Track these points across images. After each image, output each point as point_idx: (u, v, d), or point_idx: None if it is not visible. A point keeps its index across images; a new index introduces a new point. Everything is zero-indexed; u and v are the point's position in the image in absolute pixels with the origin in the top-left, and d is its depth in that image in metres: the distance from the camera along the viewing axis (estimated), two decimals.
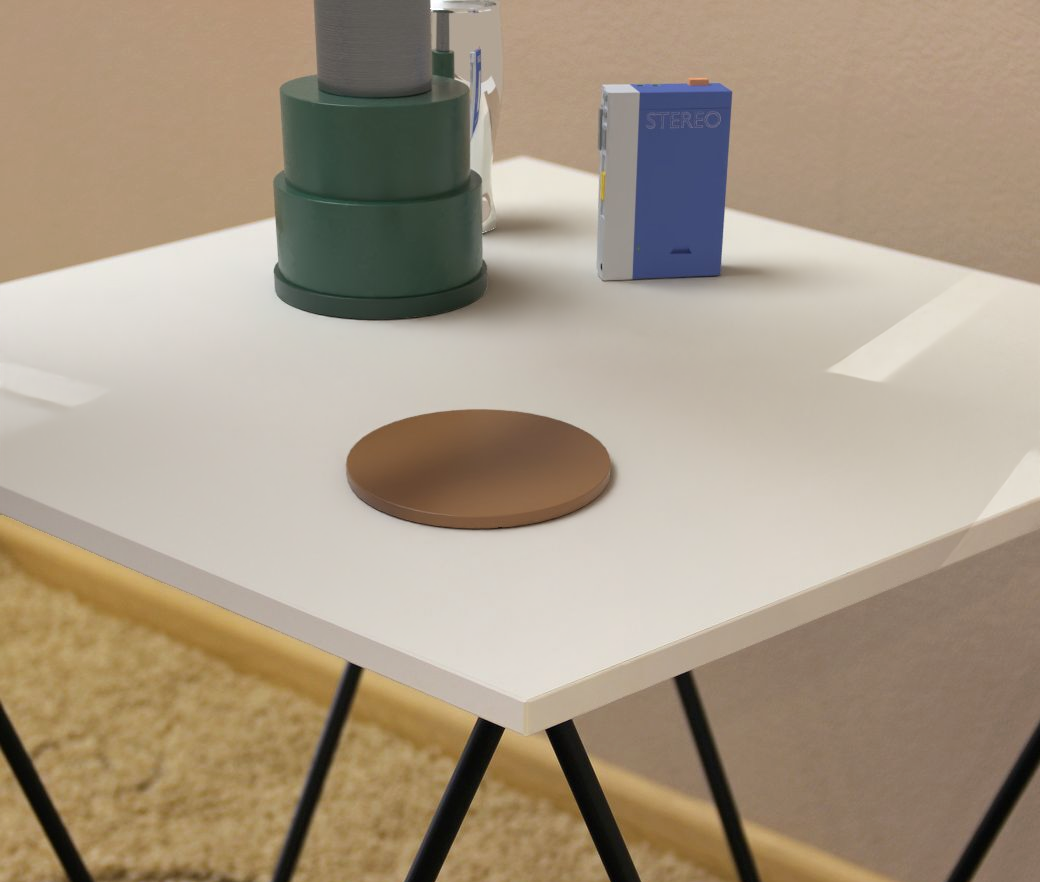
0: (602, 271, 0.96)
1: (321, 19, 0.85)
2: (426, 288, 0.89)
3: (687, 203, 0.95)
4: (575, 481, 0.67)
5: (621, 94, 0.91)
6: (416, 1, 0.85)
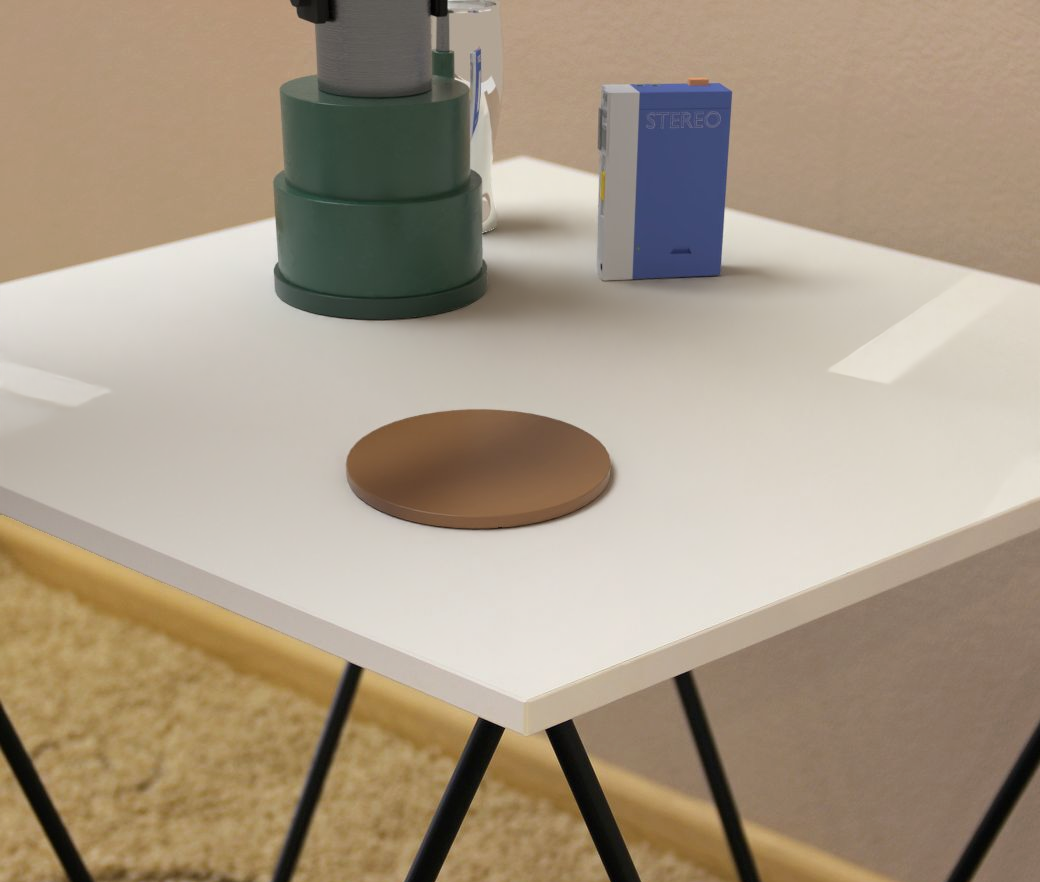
0: (602, 271, 0.96)
1: None
2: (426, 288, 0.89)
3: (687, 203, 0.95)
4: (575, 481, 0.67)
5: (621, 94, 0.91)
6: (416, 1, 0.85)
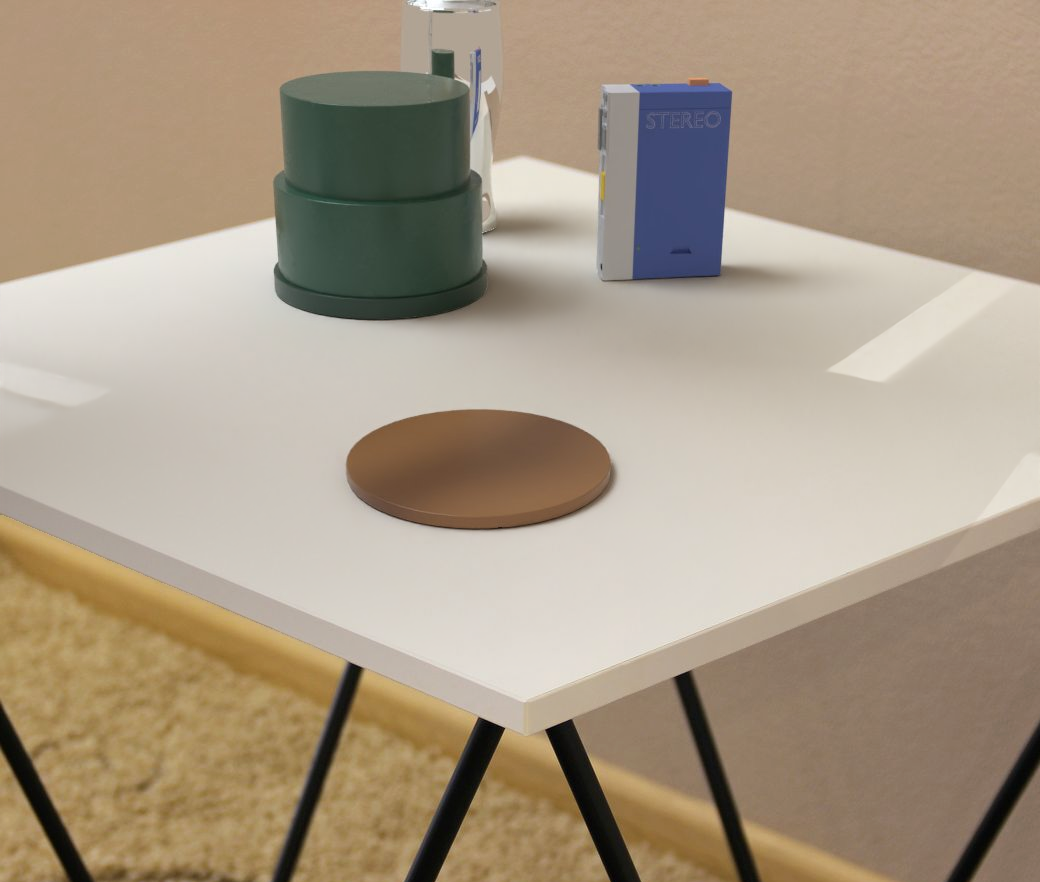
0: (602, 271, 0.96)
1: None
2: (426, 288, 0.89)
3: (687, 203, 0.95)
4: (575, 481, 0.67)
5: (621, 94, 0.91)
6: None
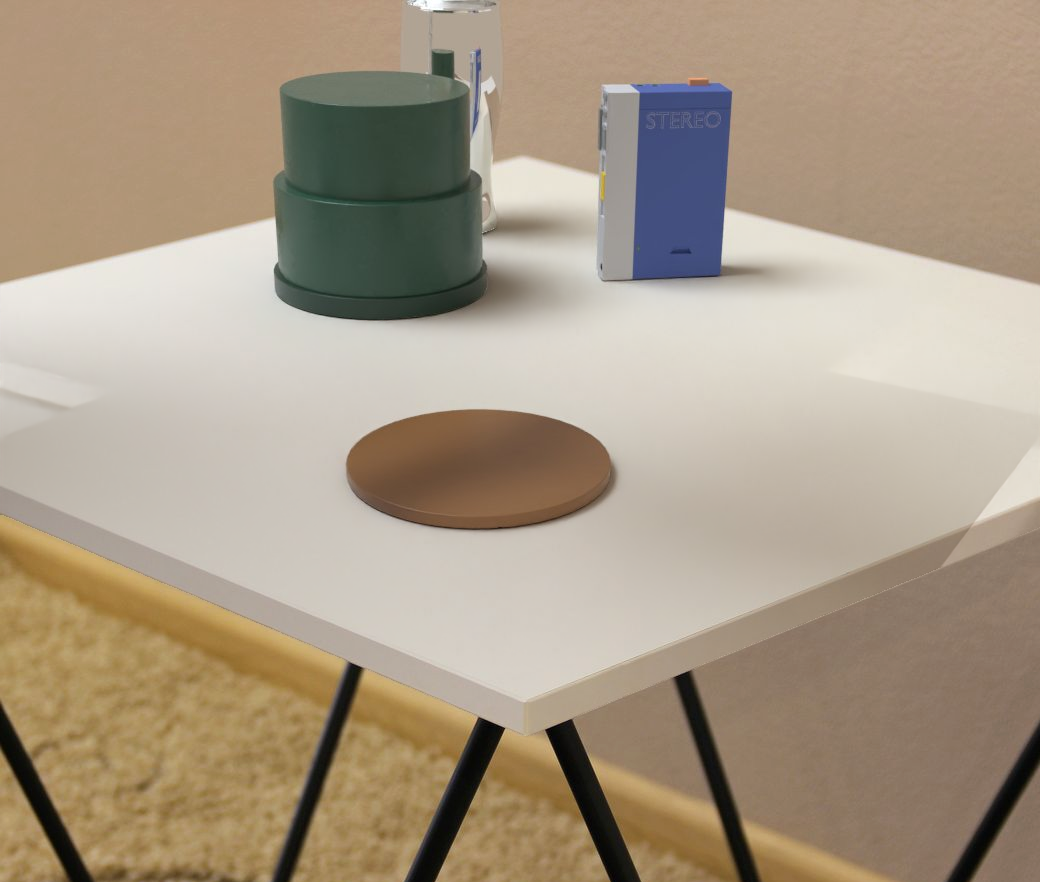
0: (602, 271, 0.96)
1: None
2: (426, 288, 0.89)
3: (687, 203, 0.95)
4: (575, 481, 0.67)
5: (621, 94, 0.91)
6: None
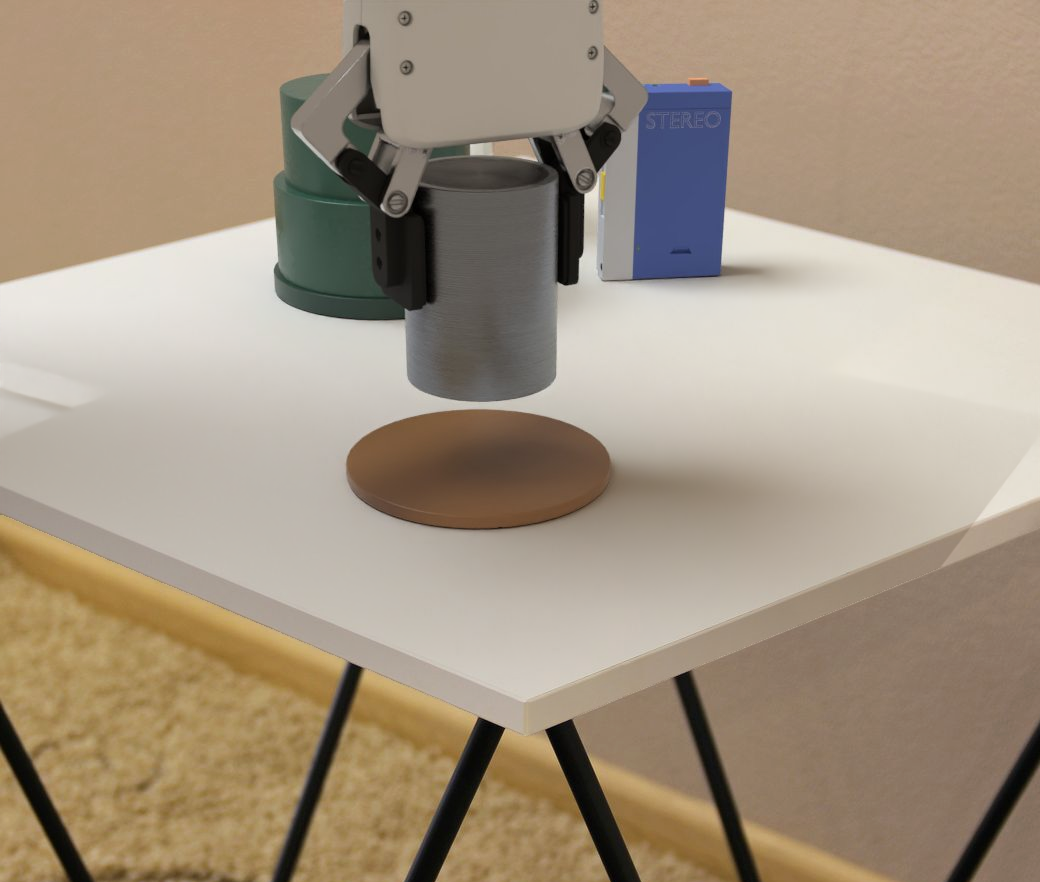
0: (602, 271, 0.96)
1: None
2: None
3: (687, 203, 0.95)
4: (575, 481, 0.67)
5: None
6: (543, 277, 0.64)
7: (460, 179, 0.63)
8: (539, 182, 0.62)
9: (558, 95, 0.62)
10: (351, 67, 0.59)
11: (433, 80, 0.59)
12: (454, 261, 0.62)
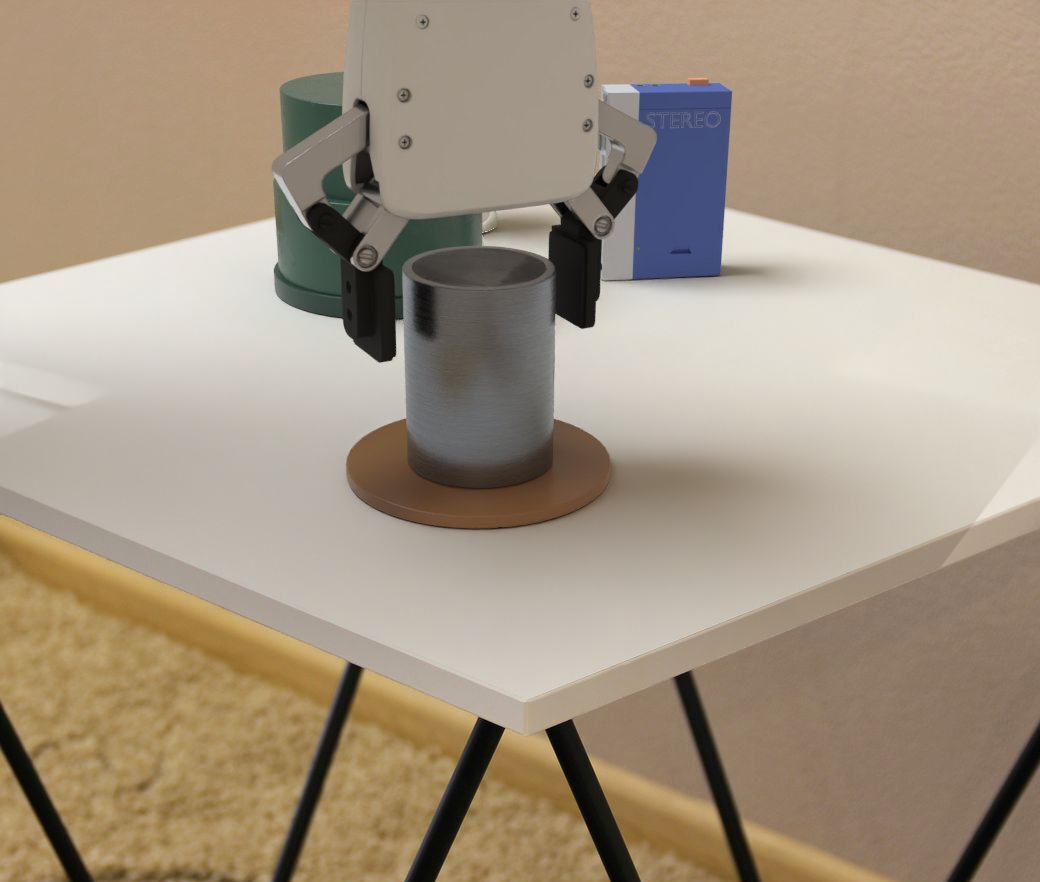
0: (602, 271, 0.96)
1: (416, 391, 0.66)
2: None
3: (687, 203, 0.95)
4: (575, 481, 0.67)
5: (621, 94, 0.91)
6: (540, 368, 0.65)
7: (460, 274, 0.64)
8: (537, 278, 0.64)
9: (553, 166, 0.63)
10: (344, 126, 0.59)
11: (431, 154, 0.60)
12: (454, 355, 0.64)
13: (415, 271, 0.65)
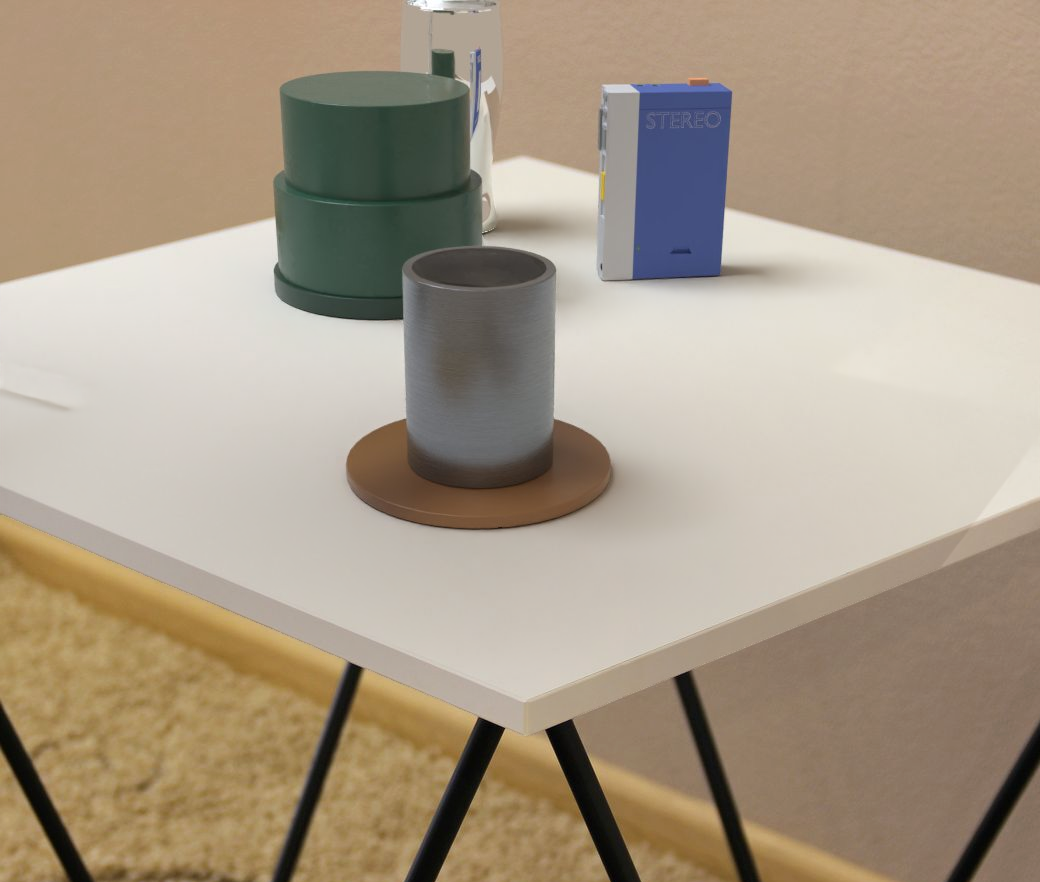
0: (602, 271, 0.96)
1: (416, 391, 0.66)
2: None
3: (687, 203, 0.95)
4: (575, 481, 0.67)
5: (621, 94, 0.91)
6: (540, 368, 0.65)
7: (460, 274, 0.64)
8: (537, 278, 0.64)
9: None
10: None
11: None
12: (454, 355, 0.64)
13: (415, 271, 0.65)
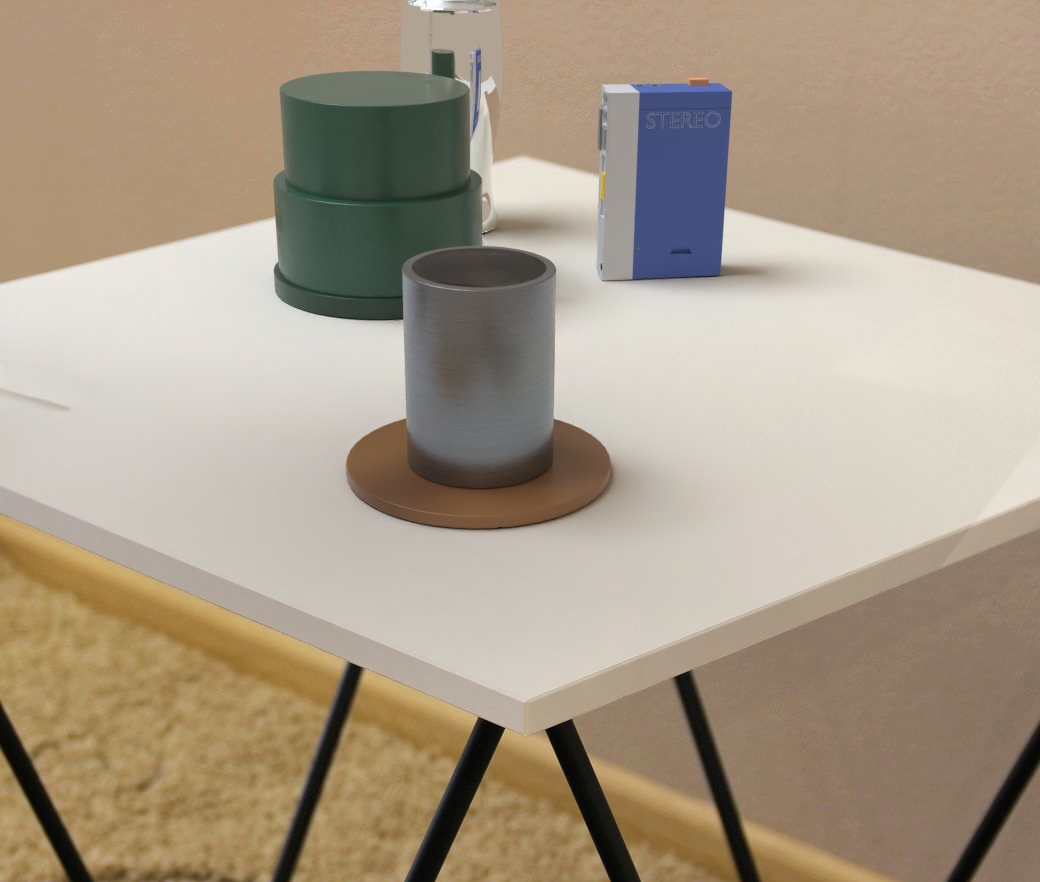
0: (602, 271, 0.96)
1: (416, 391, 0.66)
2: None
3: (687, 203, 0.95)
4: (575, 481, 0.67)
5: (621, 94, 0.91)
6: (540, 368, 0.65)
7: (460, 274, 0.64)
8: (537, 278, 0.64)
9: None
10: None
11: None
12: (454, 355, 0.64)
13: (415, 271, 0.65)
